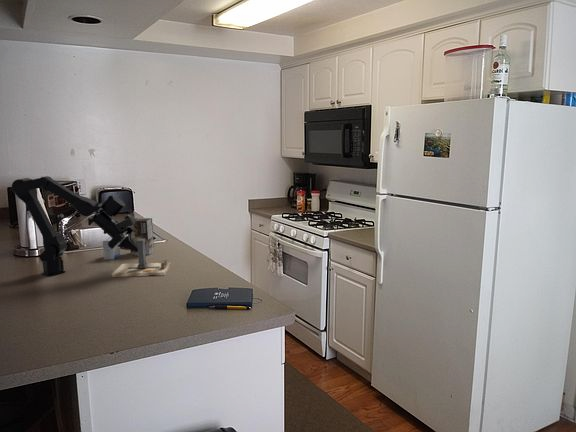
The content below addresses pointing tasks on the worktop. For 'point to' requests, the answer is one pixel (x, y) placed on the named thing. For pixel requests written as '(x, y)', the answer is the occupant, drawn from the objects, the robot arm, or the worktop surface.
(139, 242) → the dark grey tall block
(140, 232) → the coffee box
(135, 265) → the switch panel
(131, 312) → the worktop surface
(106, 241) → the medicine box
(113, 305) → the worktop surface
